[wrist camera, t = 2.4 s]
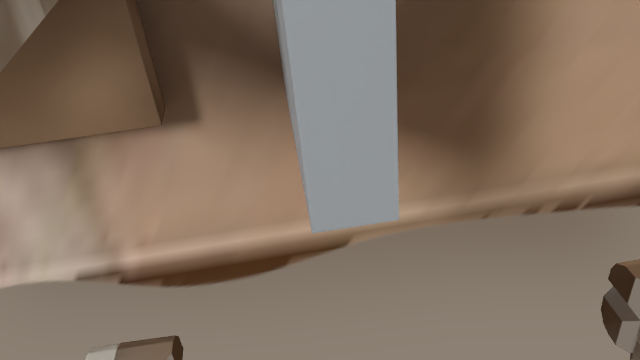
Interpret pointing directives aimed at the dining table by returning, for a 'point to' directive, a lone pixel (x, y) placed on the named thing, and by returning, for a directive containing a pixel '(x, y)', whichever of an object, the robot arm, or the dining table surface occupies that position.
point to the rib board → (74, 70)
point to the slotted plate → (342, 107)
